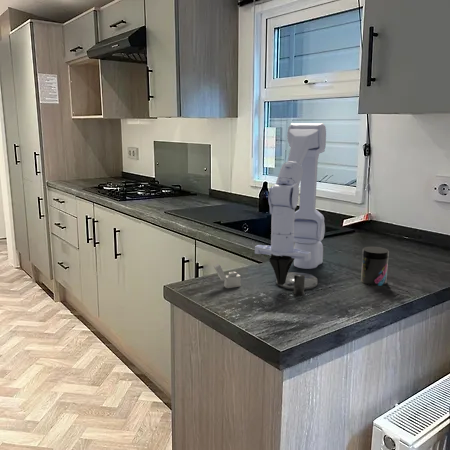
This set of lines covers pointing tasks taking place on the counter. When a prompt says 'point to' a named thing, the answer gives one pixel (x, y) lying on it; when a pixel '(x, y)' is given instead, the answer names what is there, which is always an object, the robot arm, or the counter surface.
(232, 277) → the lighter
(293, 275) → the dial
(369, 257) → the supplement container
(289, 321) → the counter surface
